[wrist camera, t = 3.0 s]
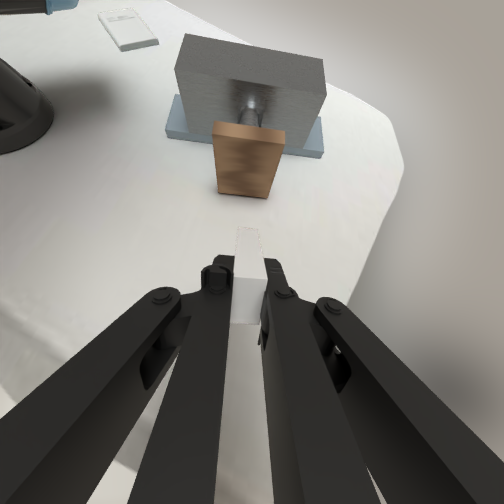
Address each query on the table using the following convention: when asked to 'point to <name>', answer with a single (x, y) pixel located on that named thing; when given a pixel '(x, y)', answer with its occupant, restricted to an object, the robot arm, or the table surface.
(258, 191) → the brown wooden block
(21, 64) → the table surface
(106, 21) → the external hard drive
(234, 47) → the housing
